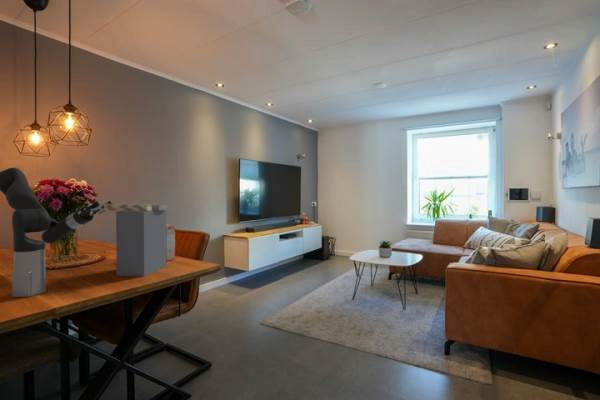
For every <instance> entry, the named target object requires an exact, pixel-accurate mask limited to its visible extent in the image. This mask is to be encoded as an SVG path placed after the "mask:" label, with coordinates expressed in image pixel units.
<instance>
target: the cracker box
mask: <svg viewBox="0 0 600 400" xmlns="http://www.w3.org/2000/svg"><path fill="white" fill-rule="evenodd" d="M175 259H176V225H174V224H167V223H166V262H168V261H169V262H170V261H174V260H175Z"/></svg>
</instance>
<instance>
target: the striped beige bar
mask: <svg viewBox="0 0 600 400" xmlns="http://www.w3.org/2000/svg"><path fill="white" fill-rule="evenodd" d="M103 205H104V210H106V211H115V212H116V211H151V210H152V205H153V204H151V203H149V204H148V203H147V204H143V203H141V204H140V203H139V204H137V203H128V204H127V203H113V204H105V203H104V204H103Z"/></svg>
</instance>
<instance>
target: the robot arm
mask: <svg viewBox="0 0 600 400" xmlns="http://www.w3.org/2000/svg"><path fill="white" fill-rule="evenodd" d="M0 192H1V193H2V194H3V196H5V198H6V201H7V203H8V205H9V206H10V208H12V209H13V210H14V211H13V212H12V216H11V222H12V223H11V226H12V237H13V240H12V241H13V271H12V272H11V285H12V286H11V294H12V298H18V297H19V298H23V297H24V298H25V297H26V298H27V297H33V296H36V295H40V294H43V293H45V292H46V287H47V286H46V284H47V283H46V282H47V281H46V277H47V276H46V275H47V274H46V244H55V243H56V242H58V241H60V239H62V238H64V237H66V236H67V235H68V234H70V233H72V232H74V231H75V230H77V229H79V228H81V227H83V226H85V225H87V224H88V223H89V222H91V221H92V220H93V219H94V216H96V215H97V214H98V215H101V214H102V213H105V212H106V211H107V210H104V204H114V203H113V202H112V200H109V201H107V202H105V203H104V204H102V205H101V203H100V201H97V200H96V202H93V203H91V204H88V205H85V206H83V207H81V208H80V209H78V210H76V211H74V212H73V213H71V214H69V215H68V216H67V217H65V218H64V219H62V220H61V221H60V222H58V221H57V220H55V219H54V218H52V217H51V216H50V214H49V213H48V211H47V210H46V208H45V207H44V206H43V205H42V203H40V202H39V200H38V197H37V195H36V194H35V192H34V191H33V189H32V188H31V186H30V184H29V182H28V179H27V176H26V175H25V173H24V172H23V171H22V170H20V169H19V168H17V167H9V168H6V169H3V170H2V171H1V170H0ZM40 232H41V233H42V234H41V239H42V240H40V239H39V240H37V239H33V238H29V237H28V236H27V235H26V234H29V233H40Z"/></svg>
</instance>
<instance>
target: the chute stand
mask: <svg viewBox="0 0 600 400" xmlns="http://www.w3.org/2000/svg"><path fill="white" fill-rule="evenodd" d="M168 207H169V206H168V204H159V205H158V204H152V210H151V211H115V217H116V219H115V222H116V223H115V225H116V226H115V228H116V231H115V233H116V234H115V235H116V236H115V237H116V241H115V242H116V244H115V246H116V247H115V248H116V254H115V255H116V276H119V277H120V276H121V277H122V276H123V277H125V276H126V277H128V276H129V277H146V276H148V275H150V274H153V273H156V272H158V271H159V270H162V269H164V268H166V267H167V261H166V224H167V210H168V209H169V208H168ZM165 266H166V267H165ZM163 267H164V268H163Z"/></svg>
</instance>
